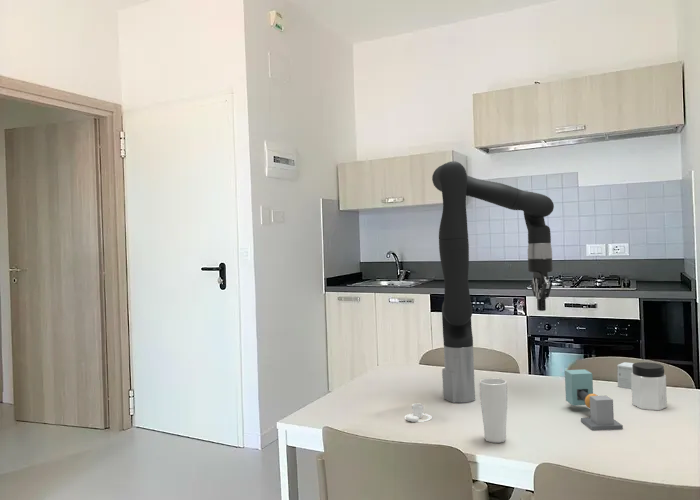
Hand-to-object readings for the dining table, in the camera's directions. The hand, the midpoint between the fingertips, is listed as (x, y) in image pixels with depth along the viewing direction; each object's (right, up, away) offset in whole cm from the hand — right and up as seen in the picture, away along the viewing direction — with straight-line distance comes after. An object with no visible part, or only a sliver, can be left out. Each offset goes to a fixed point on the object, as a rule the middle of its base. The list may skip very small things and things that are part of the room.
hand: (541, 310), depth 180 cm
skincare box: (+30, -26, +3) cm, 40 cm away
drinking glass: (-25, -29, -40) cm, 55 cm away
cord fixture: (+5, -27, -24) cm, 37 cm away
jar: (+25, -26, -18) cm, 41 cm away
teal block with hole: (+5, -25, -19) cm, 31 cm away
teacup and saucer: (-46, -30, -19) cm, 58 cm away
